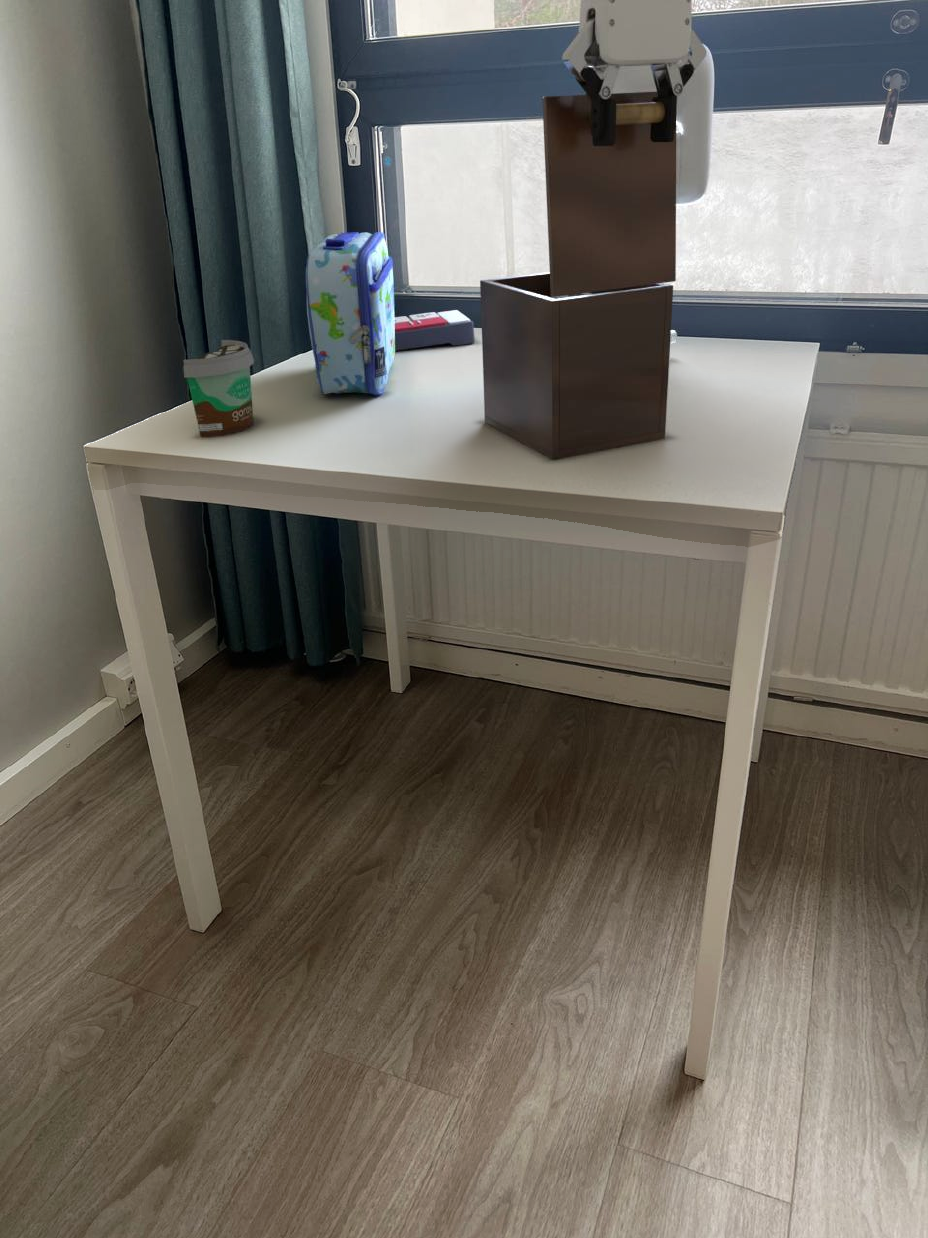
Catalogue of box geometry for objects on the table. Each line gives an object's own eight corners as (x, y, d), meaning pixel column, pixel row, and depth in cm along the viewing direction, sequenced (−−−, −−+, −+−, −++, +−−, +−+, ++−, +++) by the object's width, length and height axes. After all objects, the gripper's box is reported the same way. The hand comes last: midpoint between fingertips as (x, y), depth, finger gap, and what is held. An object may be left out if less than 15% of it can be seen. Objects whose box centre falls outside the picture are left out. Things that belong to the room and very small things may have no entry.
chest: (484, 422, 125) (479, 280, 117) (587, 404, 130) (589, 267, 122) (552, 460, 110) (552, 300, 102) (665, 438, 116) (673, 285, 107)
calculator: (376, 318, 171) (458, 306, 174) (379, 342, 173) (460, 330, 176) (386, 329, 162) (473, 316, 164) (389, 355, 164) (475, 342, 166)
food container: (240, 441, 122) (228, 360, 117) (195, 440, 123) (181, 360, 118) (276, 413, 133) (266, 338, 128) (234, 412, 134) (223, 338, 129)
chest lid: (541, 97, 95) (569, 89, 90) (672, 91, 100) (704, 83, 96) (550, 296, 102) (576, 298, 98) (671, 280, 108) (701, 282, 103)
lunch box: (387, 402, 135) (374, 242, 125) (310, 405, 136) (292, 245, 126) (403, 359, 158) (394, 221, 148) (338, 361, 159) (324, 224, 149)
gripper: (694, -70, 94) (682, 138, 102) (536, -74, 88) (537, 148, 96) (744, -84, 88) (728, 139, 96) (578, -89, 81) (576, 149, 90)
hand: (633, 141), depth 96 cm, fingers closed on chest lid, 6 cm apart
